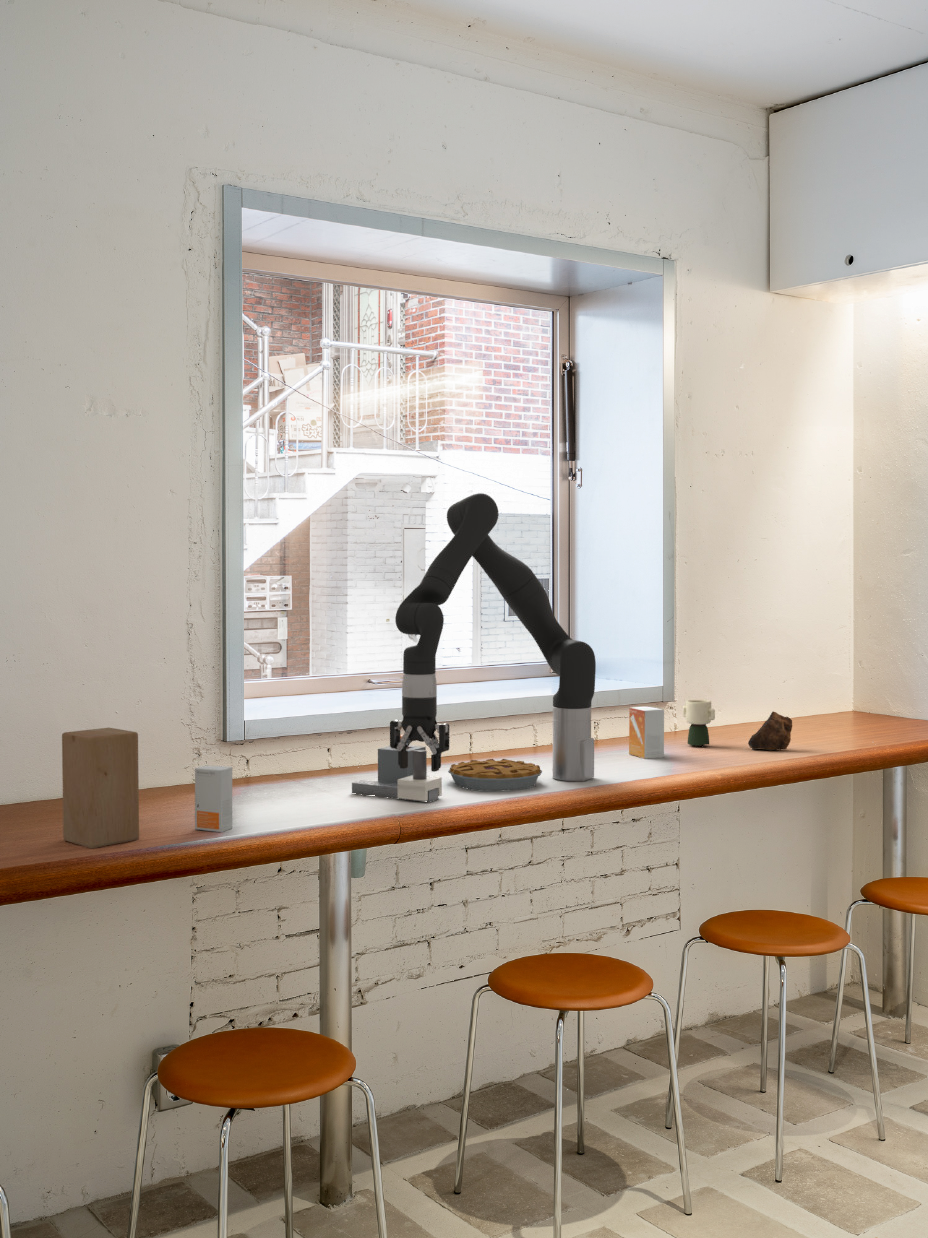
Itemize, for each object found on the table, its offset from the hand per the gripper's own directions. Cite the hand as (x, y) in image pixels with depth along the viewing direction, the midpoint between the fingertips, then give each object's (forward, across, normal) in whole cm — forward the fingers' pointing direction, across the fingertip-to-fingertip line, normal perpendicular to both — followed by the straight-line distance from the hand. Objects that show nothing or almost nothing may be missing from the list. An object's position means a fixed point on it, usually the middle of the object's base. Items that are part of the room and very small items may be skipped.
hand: (419, 769), depth 246 cm
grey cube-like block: (+7, +11, -11) cm, 17 cm away
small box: (+7, -22, -81) cm, 84 cm away
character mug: (+7, -30, -105) cm, 109 cm away
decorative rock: (+7, -49, -108) cm, 119 cm away
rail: (+7, +6, 0) cm, 9 cm away
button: (-1, +11, -11) cm, 16 cm away
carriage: (+7, 0, 0) cm, 7 cm away
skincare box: (+7, +19, +44) cm, 49 cm away
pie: (+7, -6, -25) cm, 27 cm away
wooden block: (+7, +31, +61) cm, 69 cm away
